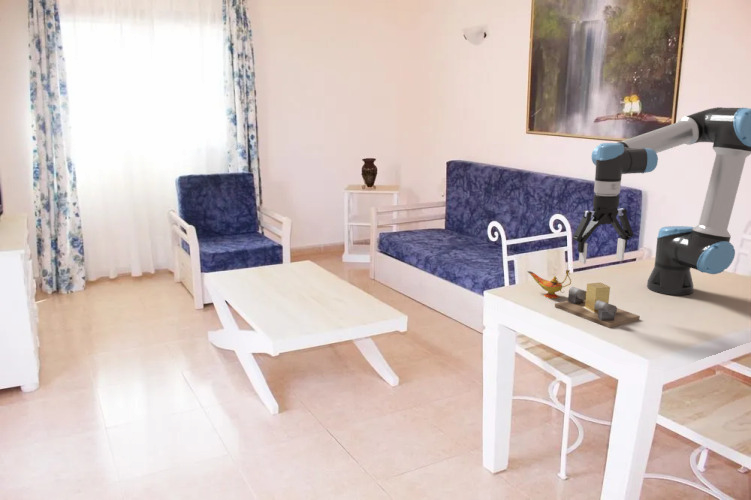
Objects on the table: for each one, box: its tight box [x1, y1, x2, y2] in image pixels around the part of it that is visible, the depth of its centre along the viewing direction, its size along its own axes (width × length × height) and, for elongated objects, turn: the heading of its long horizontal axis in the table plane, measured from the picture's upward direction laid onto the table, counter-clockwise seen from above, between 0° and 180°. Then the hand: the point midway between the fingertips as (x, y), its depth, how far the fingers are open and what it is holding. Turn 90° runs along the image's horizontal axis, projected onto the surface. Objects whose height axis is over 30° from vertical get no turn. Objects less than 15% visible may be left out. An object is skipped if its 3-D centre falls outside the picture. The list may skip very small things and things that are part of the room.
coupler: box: [585, 282, 611, 312], centre depth 198 cm, size 5×5×8 cm
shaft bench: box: [554, 286, 640, 329], centre depth 199 cm, size 22×14×6 cm, turn 30°
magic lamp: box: [527, 269, 572, 299], centre depth 216 cm, size 7×18×11 cm, turn 40°
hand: (601, 260), depth 195 cm, fingers open, 13 cm apart
